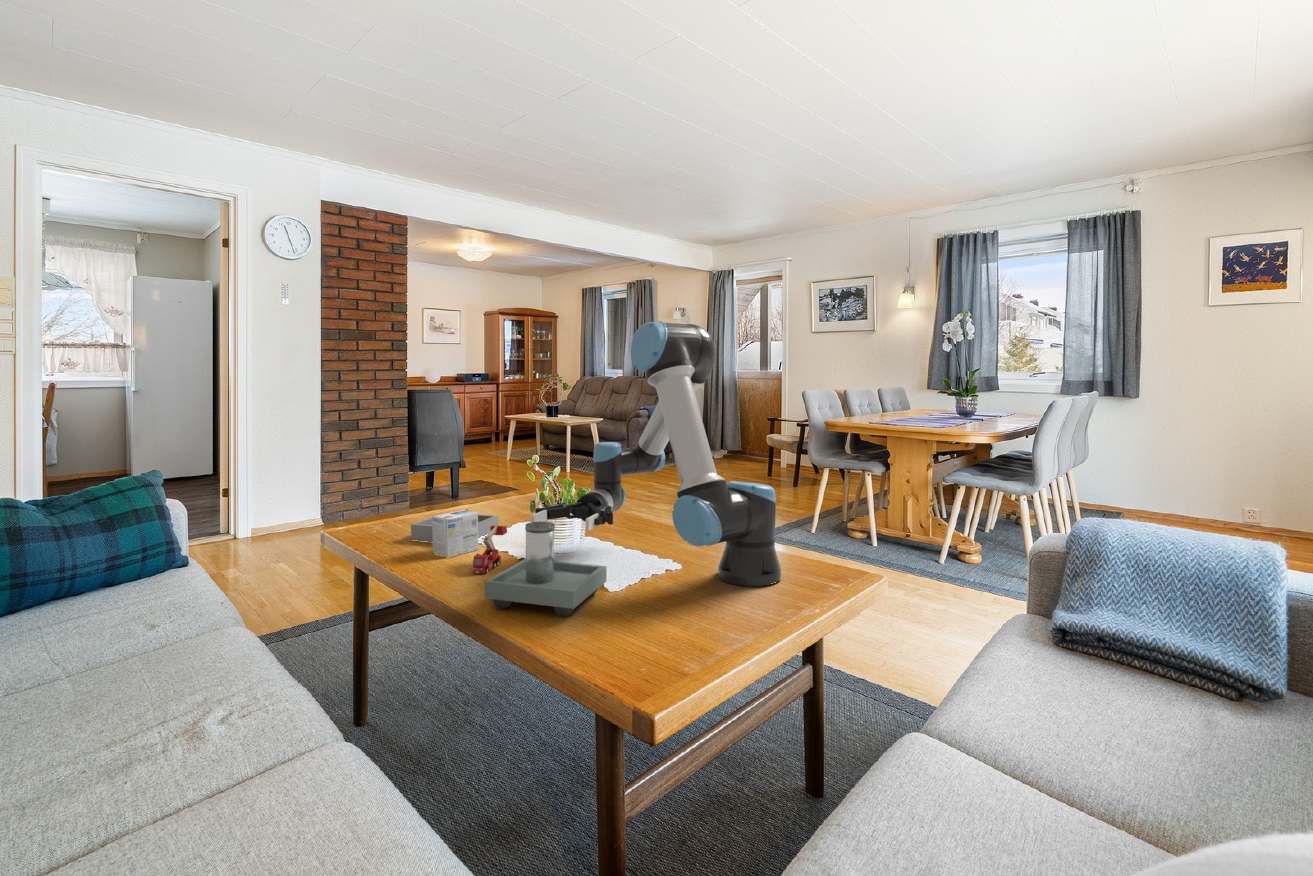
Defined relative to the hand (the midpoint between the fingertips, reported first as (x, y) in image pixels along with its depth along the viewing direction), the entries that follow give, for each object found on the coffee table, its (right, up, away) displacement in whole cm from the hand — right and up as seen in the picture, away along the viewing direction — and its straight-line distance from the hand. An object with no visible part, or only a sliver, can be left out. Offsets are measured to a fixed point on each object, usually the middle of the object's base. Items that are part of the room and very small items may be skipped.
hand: (559, 523), depth 150 cm
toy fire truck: (-20, -13, +15) cm, 28 cm away
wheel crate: (-38, -10, +46) cm, 60 cm away
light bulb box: (-33, -12, +28) cm, 45 cm away
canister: (-3, -11, -9) cm, 14 cm away
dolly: (-1, -16, -9) cm, 18 cm away
